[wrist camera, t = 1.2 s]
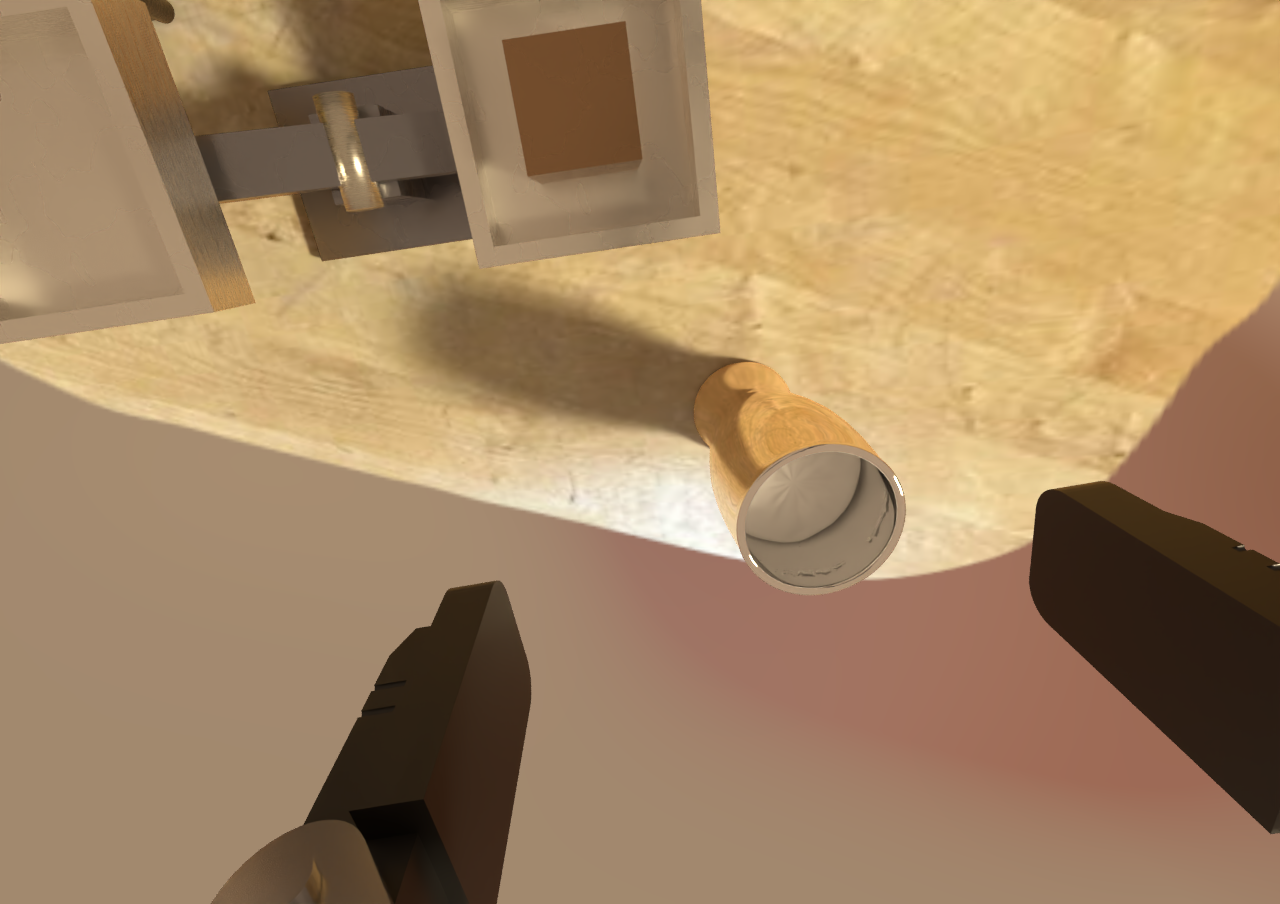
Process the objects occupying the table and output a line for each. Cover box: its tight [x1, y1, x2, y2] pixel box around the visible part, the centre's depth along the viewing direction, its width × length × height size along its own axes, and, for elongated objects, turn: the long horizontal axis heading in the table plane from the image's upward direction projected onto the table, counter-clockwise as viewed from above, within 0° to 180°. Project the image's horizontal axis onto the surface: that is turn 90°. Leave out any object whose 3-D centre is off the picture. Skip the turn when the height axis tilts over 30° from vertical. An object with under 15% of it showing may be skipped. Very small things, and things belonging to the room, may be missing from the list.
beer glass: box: [694, 362, 906, 595], centre depth 30 cm, size 7×7×15 cm
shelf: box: [0, 0, 720, 344], centre depth 26 cm, size 11×31×11 cm, turn 98°
